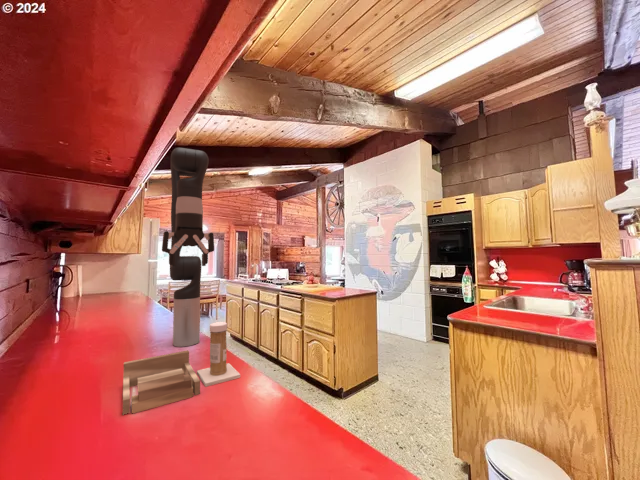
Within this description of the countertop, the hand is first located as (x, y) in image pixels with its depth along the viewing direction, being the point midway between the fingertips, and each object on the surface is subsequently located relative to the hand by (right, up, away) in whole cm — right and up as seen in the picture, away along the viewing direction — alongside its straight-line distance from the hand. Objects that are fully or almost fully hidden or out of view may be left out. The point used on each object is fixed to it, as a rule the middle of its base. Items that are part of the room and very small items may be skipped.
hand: (188, 266), depth 84 cm
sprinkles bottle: (+12, -29, -7) cm, 32 cm away
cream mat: (+12, -30, -7) cm, 33 cm away
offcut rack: (0, -29, -15) cm, 33 cm away
